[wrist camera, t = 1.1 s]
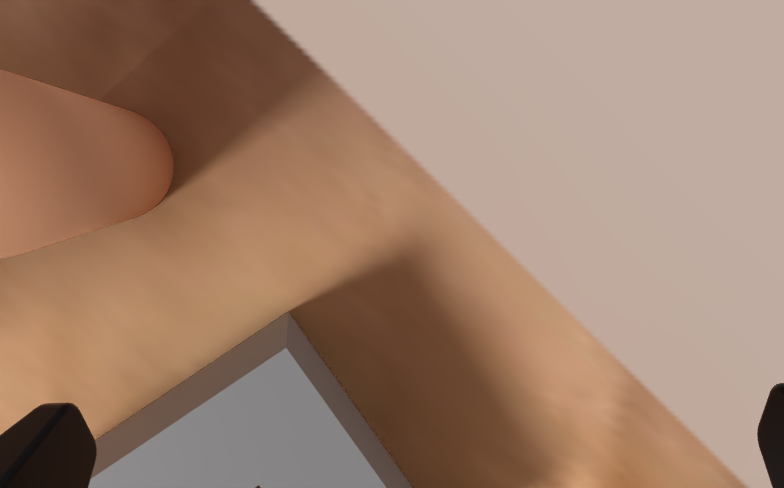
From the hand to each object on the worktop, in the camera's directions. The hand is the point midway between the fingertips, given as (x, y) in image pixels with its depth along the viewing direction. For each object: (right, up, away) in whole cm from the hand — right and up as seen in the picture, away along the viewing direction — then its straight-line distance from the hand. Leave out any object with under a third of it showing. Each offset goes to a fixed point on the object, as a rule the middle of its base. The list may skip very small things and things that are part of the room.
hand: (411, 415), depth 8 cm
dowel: (-10, +5, +15) cm, 19 cm away
